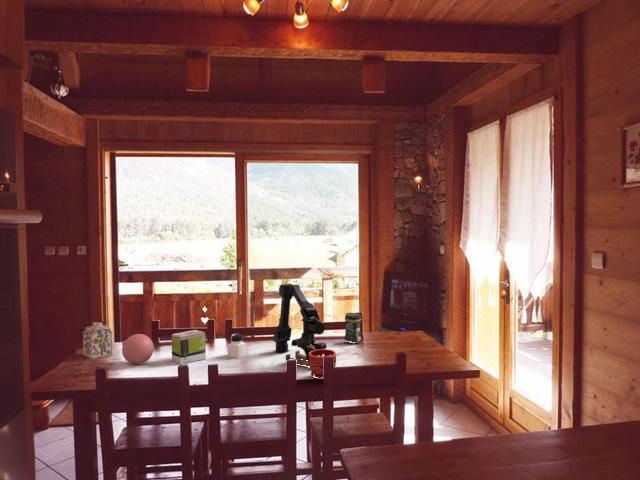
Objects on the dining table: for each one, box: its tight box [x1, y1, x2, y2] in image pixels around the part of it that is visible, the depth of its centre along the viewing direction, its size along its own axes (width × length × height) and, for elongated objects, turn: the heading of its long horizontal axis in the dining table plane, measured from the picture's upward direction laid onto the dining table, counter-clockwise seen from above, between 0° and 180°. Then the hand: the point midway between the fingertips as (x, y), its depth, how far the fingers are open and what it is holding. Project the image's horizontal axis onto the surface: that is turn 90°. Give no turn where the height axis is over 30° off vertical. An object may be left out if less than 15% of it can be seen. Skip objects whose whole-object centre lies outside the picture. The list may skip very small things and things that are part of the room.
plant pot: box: [309, 348, 337, 378], centre depth 229 cm, size 13×13×12 cm
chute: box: [285, 350, 325, 366], centre depth 251 cm, size 18×11×4 cm, turn 58°
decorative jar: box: [82, 322, 114, 360], centre depth 265 cm, size 12×12×18 cm
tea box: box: [171, 329, 207, 365], centre depth 257 cm, size 15×10×15 cm, turn 134°
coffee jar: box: [344, 312, 362, 342], centre depth 296 cm, size 10×8×19 cm
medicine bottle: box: [227, 333, 247, 359], centre depth 265 cm, size 7×7×12 cm
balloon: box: [121, 333, 155, 365], centre depth 251 cm, size 15×20×15 cm
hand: (308, 360), depth 250 cm, fingers closed
